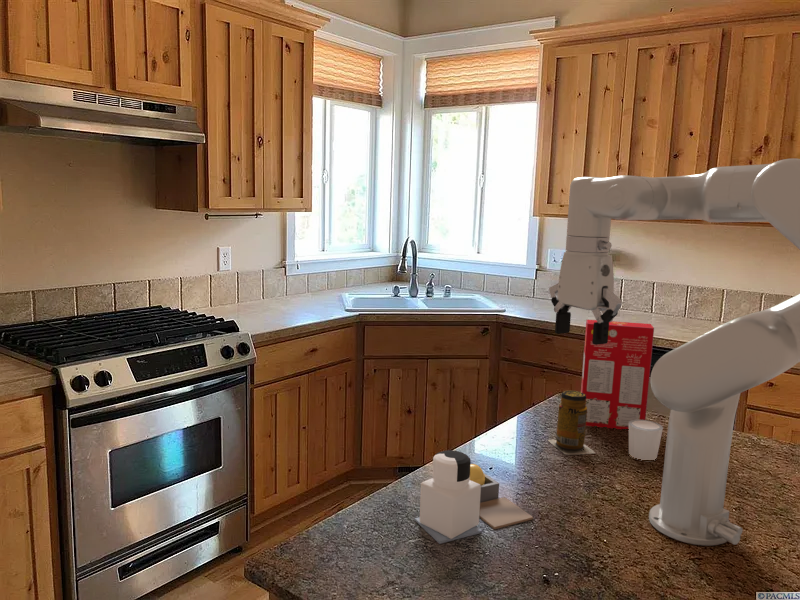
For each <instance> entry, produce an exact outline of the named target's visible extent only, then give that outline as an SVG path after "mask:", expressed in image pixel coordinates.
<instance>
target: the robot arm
mask: <svg viewBox="0 0 800 600" xmlns="http://www.w3.org/2000/svg"><path fill="white" fill-rule="evenodd" d="M567 208H568V211H567V225H566V227H567V228H566V237H565V238H566V239H565V252H563V255H562V260H561V265H560V270H559V276H558V283H556V284H554V285H552V286H550V287H548V288H549V289H548V291H549V295H550V298H551V299H550V300H551V303H552V305H553V310H554V312H555V325H554V333H555V334H557V335H558V334H568V333H570V331H571V320H572V319H571V318H572V314H571V311H569V310H570V309H571V308H572V307H573V308H577V309H581V310H586V311H591V312H592V314H593V316H594V318H595V320H597V322H594V326H593V339H592V343H593V344H595V345H598V344H606V343H607V342H608V331H609V322H612V321H613V320H614V318H615V317H616V316H618V314H619V313H618V311H619V310H620V308H621V306H622V304H623V301H622V299H621V298H619V297H618V296H617V295H616V294H615V287H614V285H615V281H614V280H615V279H614V276H615V275H614V274H615V273H614V264H613V258H612V255H610V254H609V250H610V249H612V246H613V245H612V242H610V235H611V224H612V223H611V222H612V220H617V221H618V220H619V221H657V220H658V221H660V220H661V221H663V220H664V221H665V220H666V221H667V220H668V221H669V220H671V221H672V220H701V221H705V222H707V223H769V224H770V225H771V226H772V227H774V229H775V230H777V232H779V233H780V234H781V235H782V236H783V237H784V238H785V239H787V240H788V241H789V242H790V243H791V244H792V245H793V246H794V247H796V248H797V249H799V250H800V158H797V157H796V158H786V159H780V160H777V161H774V162H773V163H764V164H761V163H760V164H748V165H731V166H730V165H729V166H716V167H713V168H710V169H709V170H707V171H706V172H703V173H698V174H691V175H679V176H659V177H658V176H657V177H656V176H654V177H653V176H651V177H649V176H639V175H638V176H637V175H627V174H626V175H616V176H610V177H598V176H597V177H596V176H581V177H575V178H574V179H572V181H571V182H570V185H569V195H568V207H567ZM798 363H800V293H798V294H796V295H793V296H792V297H790V298H788V299H785V300H784V301H782V302H779V303H778V304H776V305H773V306H772V307H769V308H767V309H763V310H760V311H756V312H752V313H749V314H746V315H742V316H739V317H735V318H733V319H731V320H729V321H727V322H725V323H722V324H720V325H717V326H716V327H714V328H713V329H711V330H709V331H707V332H705V333H703V334H701V335H699V336H697V337H695V338H693V339H691V340H689V341H687V342H685V343H684V344H682V345H680V346H678V347H676V348H674V349H672V350H670V351H668V352H666V353H665V354H663V355H662V356H661V357H660V358H658V360H656V362H655V363H654V365H653V367H652V368H651V369H652V370H651V371H650V377H649V385H650V389H651V392H652V393H653V396H654V397H655V398H656V400H657V401H658V402H659V403H660V404H661V405H663V406H664V407H666V408H667V409H669V410H670V411H669V417H668V425H667V433H666V441H665V442H666V443H665V452H664V459H663V460H664V462H663V463H664V464H663V471H662V480H661V481H662V482H661V492H660V500H659V501H660V502H659V503H658V504H656V505H654V506H652V507H651V508H650V509H649V512H648V520H649V522H650V524H651V525H652V526H653V528H655V529H656V530H657V531H658V532H660V533H661V534H663V535H665V536H667V537H669V538H671V539H674V540H676V541H680V542H683V543H687V544H691V545H695V546H718V545H722V544H725V543H727V542H728V543H730V544H731V545H733V546H734V545H737V544H739V542H740V541H741V535H742V534H743V528H742V527H741V526H739V525H737V524H735V523H732V522H731V521H730V510H728V509H726V508H724V506H725V505H724V504H725V499H726V498H725V496H726V490H727V488H726V487H727V481H728V480H727V479H728V470H729V463H730V461H729V460H730V453H731V447H732V440H733V431H734V424H735V418H736V412H737V408H738V405H739V402H740V401H739V400H740V397H741V393H743V392H745V391H747V390H750V389H752V388H755V387H757V386H759V385H762V384H764V383H766V382H768V381H770V380H772V379H774V378H776V377H778V376H779V375H781V374H783V373H785V372H787V371H788V370H790V369H791V368H793V367H794V366H796V365H797V364H798Z"/></svg>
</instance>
